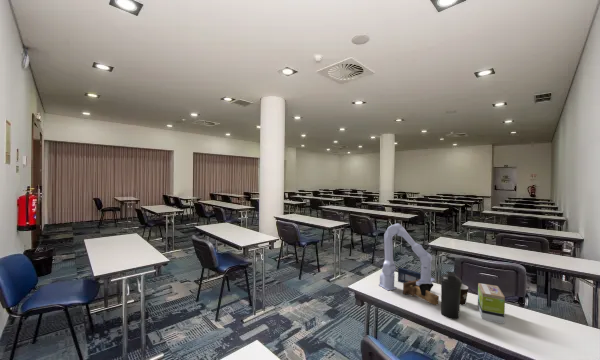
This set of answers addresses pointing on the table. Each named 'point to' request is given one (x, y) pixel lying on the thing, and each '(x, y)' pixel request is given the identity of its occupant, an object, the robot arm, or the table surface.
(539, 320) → the table surface
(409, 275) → the vhs cassette tape
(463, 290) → the coffee mug
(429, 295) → the rail
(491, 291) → the tea box
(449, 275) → the water bottle
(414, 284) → the headboard
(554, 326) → the table surface
